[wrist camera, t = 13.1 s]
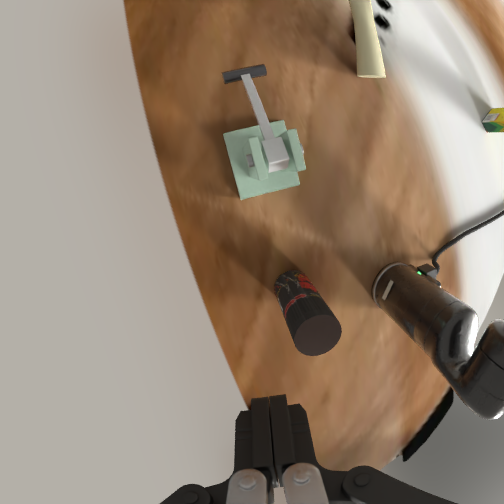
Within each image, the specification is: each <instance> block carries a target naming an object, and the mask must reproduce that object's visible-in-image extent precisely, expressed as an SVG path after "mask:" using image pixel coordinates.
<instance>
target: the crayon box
mask: <svg viewBox="0 0 504 504" xmlns="http://www.w3.org/2000/svg"><path fill="white" fill-rule="evenodd" d="M482 123H483V125H484V127H485V129H486V132H504V108H494V109H491V111H490V112H489V113H488V114H487V116H486V117H485V118H484V120H483V121H482Z"/></svg>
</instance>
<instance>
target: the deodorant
mask: <svg viewBox="0 0 504 504" xmlns="http://www.w3.org/2000/svg"><path fill="white" fill-rule="evenodd" d="M274 290H275V294H276V297H277V299H278V302H279V305H280V307H281V310H282V312H283V315H284V318H285V320H286V323H287V325H288V328H289V331H290V333H291V336H292V339H293V341H294V344H295V346H296V348H297V349H298V351H300V352H301V353H303V354H305V355H309V356H317V355H321V354H324V353H326V352H328V351H330V350H331V349H332V348H333V347H334V346H335V345H336V344H337V343H338V341H339V339H340V337H341V332H342V331H341V325H340V323H339V321H338V320H337V318H336V317H335V315H334V314H333V313H332V311H331V310H330V308H329V307H328V305H327V304H326V303H325V301H324V300H323V298H322V297H321V296H320V294H319V293H318V291H317V290H316V289H315V287H314V286H313V284H312V283H311V282H310V280H309V279H308V278H307V276H306V275H305V274H304V273H302V272H300V271H297V270H290V271H287V272H285V273H283V274H281V275H280V276H279V277H278V279H277V280H276V283H275V287H274Z"/></svg>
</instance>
